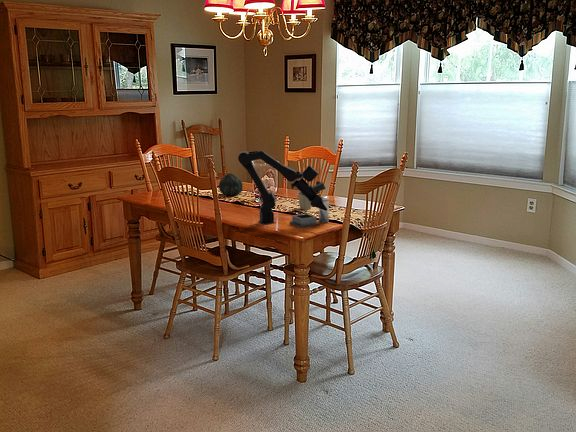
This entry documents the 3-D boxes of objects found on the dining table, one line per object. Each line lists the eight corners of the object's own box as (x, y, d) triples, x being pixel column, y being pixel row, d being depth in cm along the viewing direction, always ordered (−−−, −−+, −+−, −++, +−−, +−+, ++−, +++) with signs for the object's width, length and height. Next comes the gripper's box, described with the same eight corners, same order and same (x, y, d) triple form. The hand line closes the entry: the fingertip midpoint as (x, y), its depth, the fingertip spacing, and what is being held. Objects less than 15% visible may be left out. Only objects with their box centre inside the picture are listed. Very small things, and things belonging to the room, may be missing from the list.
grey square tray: (300, 227, 289) (300, 220, 288) (289, 223, 299) (289, 215, 298) (319, 224, 294) (319, 217, 294) (308, 220, 304) (308, 212, 303)
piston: (322, 223, 298) (322, 198, 294) (316, 221, 302) (316, 196, 299) (330, 222, 300) (330, 197, 297) (325, 220, 304) (325, 195, 301)
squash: (236, 182, 383) (223, 167, 374) (250, 186, 372) (237, 171, 363) (223, 199, 379) (210, 184, 370) (237, 203, 368) (223, 188, 359)
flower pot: (299, 210, 326) (299, 195, 324) (295, 207, 335) (294, 192, 333) (315, 209, 329) (315, 194, 327) (310, 205, 338) (310, 191, 335)
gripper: (317, 180, 286) (339, 201, 289) (314, 174, 304) (335, 194, 307) (301, 196, 288) (323, 217, 291) (299, 189, 306) (320, 209, 309)
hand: (326, 209), depth 299 cm, fingers closed on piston, 5 cm apart
